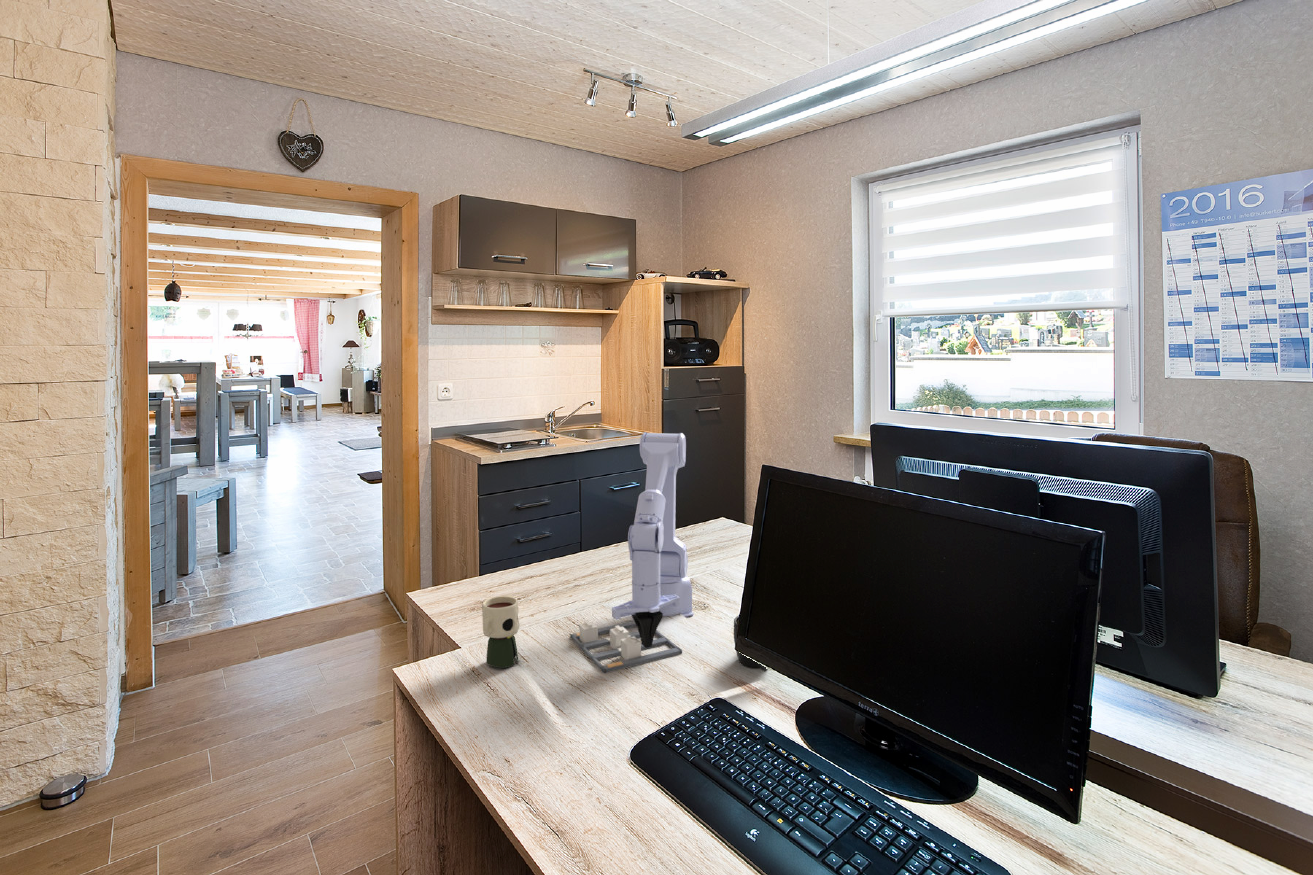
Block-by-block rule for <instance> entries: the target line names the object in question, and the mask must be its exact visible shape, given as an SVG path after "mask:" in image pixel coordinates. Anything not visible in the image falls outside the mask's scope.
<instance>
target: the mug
mask: <svg viewBox="0 0 1313 875" xmlns="http://www.w3.org/2000/svg"><path fill="white" fill-rule="evenodd" d="M738 619H739V615H736V617H735V618H734V619H733V640H734V642H733V643H734V647H735V652H736V655H737V659H738V662H739V664H740V665H741V666H743V667H745V668H749V669H753V670H754V669H760V670H762V671H763V672H767V670H768V669H766V667H764V666H762V665H761V664H758V663H757V662H755V661H753V660H752V659H750V658H747V657H746V656H744V655H742V654H741V653H739V652H738V651H737V650H736V642H737V621H738Z"/></svg>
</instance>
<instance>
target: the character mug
mask: <svg viewBox="0 0 1313 875" xmlns="http://www.w3.org/2000/svg"><path fill="white" fill-rule="evenodd" d="M481 611H482V613H481V614H482V615H481V616H482V617H481V618H482V632H483V635H484V637H488V640H487V648H486V649H487V650H486V661H485V662H486V664H487V665H489V666H491V667H495V668H498V669H503V668H509V667H511V666H513V665H515V660H516V663H517V662H519V653H518V646H517V641H516V637H515V635H516V634H517V633H518V632H519V630H520V619H519V612H520V610H519V600H518V599H517V598H516V597H514V596H510V595H498V596H497V595H495V596H492V597H490V598H486V599H485V600H483V601H482V604H481Z"/></svg>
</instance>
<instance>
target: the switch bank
mask: <svg viewBox="0 0 1313 875" xmlns="http://www.w3.org/2000/svg"><path fill="white" fill-rule="evenodd" d="M617 625H619V626H620V627H624V628H625V629H626V630H627V629H631V628H632V629H633V628H635V627H636V628H637V626H636V624H635V622H634V620H632V621H627V622H622V623H617V624H613V625H608V626H604V627H600V628H599V627H598V636H601V635H604V634H610V629H614V628H615V626H617ZM629 635H630V636H631V637H636V638H637V639H641V638H640V634H639V631H638V630H637V631H636V630H635V631H631V632H629ZM654 636H657V637H658V638H654V639H653V643H652V647H648V648H645V647H644V646H643V645H642V643H641V651H643V650H648V649H651V648H656V647H660V646H664V645H668V646H669V647H671V648H668V649H665V650H661V651H657V652H652V653H649V654H644V655H641V656H640V657H636V658H632V659H628V660H625V659H624V660H620V661H617V662H613V663H608V664H604V665H603V664H602V663H601V662H600V661H602V660H607V659H611V658H614V657H619V656H621V648H617V649H613V648H612V649H609V650H605V651H601V652H597V653H591V651H590V650H592V649H597V648H601V647H605V646H610V637H606V638H605V637H604V638H601V639H598V640H596V641H592V642H587V643H582V642H581V641H580V634H579V632H577V633H571V634H570V635H569V638H570V639H571V640H572V641H573V642H574V644H575V645H576V646H577V647H579V649H580V650H581V651H582V652H583V653H584V654H585V655H586V657H587V658H589V659H590V660H591V662H593V663H594V664H595V666H596V667H597V668H598V669H599V670H600V671H601V672H602V673H603V674H607V673H612V672H614V671H619V670H623V669H627V668H630V667H635V666H638V665H642V664H646V663H649V662H654V661H658V660H662V659H666V658H669V657H674V656H678V655H681V654H683V650H682V649H681V648H680V646H677V644H675V643H674V642H672V641H671V639H668V638H667V636H665V635H664V634H662V633H661V632H660V631H658V630H656V632H655V635H654Z"/></svg>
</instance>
